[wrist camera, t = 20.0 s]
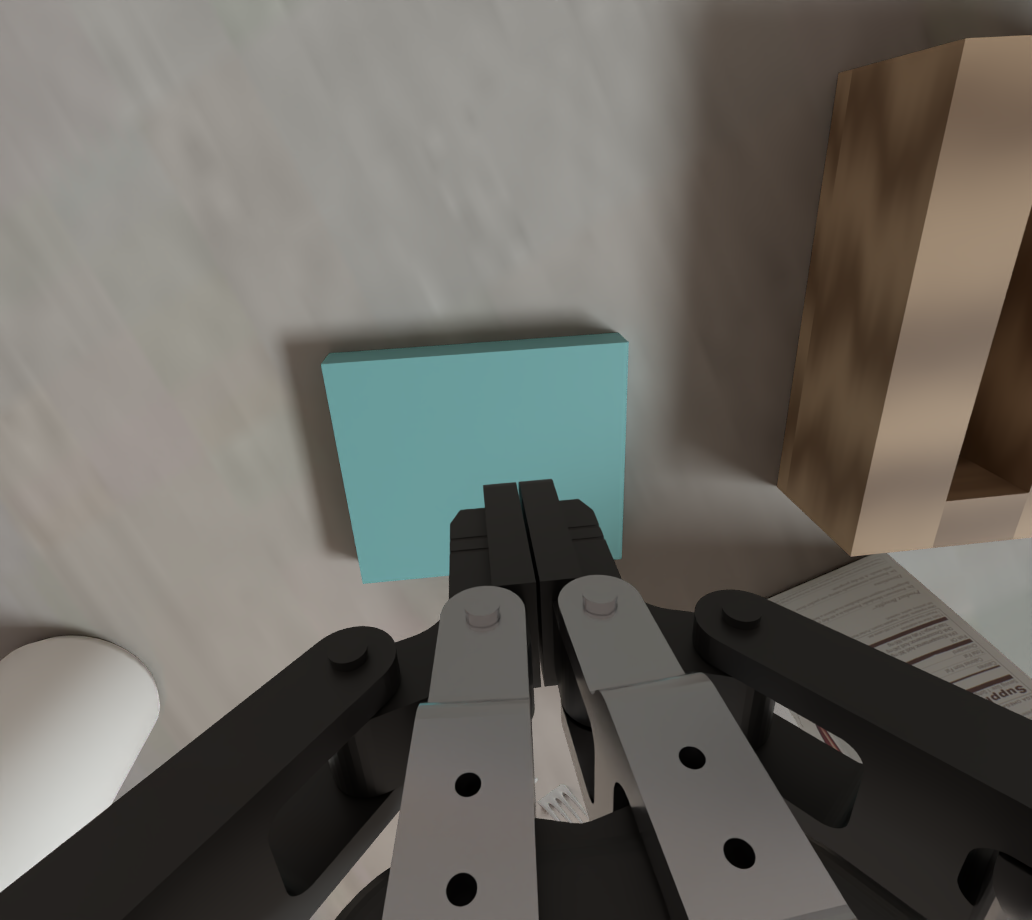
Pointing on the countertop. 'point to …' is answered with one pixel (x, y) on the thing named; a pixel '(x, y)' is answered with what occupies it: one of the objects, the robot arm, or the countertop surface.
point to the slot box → (920, 307)
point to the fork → (558, 794)
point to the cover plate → (473, 437)
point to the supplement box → (906, 633)
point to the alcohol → (65, 740)
